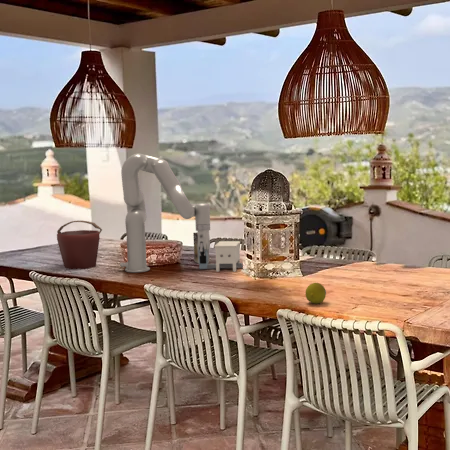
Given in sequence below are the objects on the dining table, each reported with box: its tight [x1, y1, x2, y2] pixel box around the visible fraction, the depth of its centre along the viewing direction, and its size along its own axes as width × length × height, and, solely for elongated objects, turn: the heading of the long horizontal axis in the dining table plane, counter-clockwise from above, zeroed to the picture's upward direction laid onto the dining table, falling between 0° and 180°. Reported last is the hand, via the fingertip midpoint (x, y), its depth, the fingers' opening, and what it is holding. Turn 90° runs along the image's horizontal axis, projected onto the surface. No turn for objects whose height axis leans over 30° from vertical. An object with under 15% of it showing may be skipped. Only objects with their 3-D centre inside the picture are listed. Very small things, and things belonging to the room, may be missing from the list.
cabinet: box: [214, 240, 241, 272], centre depth 331 cm, size 11×18×13 cm, turn 171°
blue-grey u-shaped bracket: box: [198, 247, 244, 270], centre depth 332 cm, size 22×4×11 cm, turn 82°
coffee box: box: [192, 231, 210, 265], centre depth 353 cm, size 9×6×16 cm
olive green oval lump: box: [305, 282, 327, 305], centre depth 251 cm, size 11×8×8 cm
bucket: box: [56, 220, 103, 270], centre depth 348 cm, size 24×22×25 cm
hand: (203, 262), depth 334 cm, fingers closed on blue-grey u-shaped bracket, 4 cm apart
